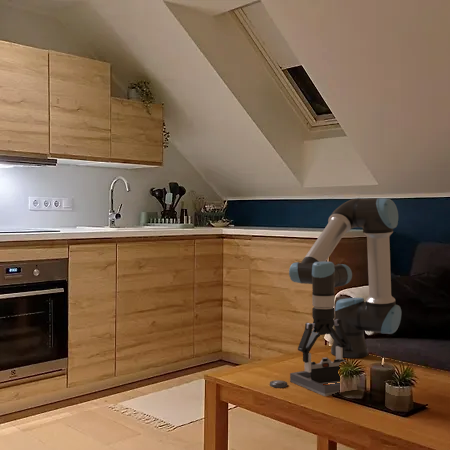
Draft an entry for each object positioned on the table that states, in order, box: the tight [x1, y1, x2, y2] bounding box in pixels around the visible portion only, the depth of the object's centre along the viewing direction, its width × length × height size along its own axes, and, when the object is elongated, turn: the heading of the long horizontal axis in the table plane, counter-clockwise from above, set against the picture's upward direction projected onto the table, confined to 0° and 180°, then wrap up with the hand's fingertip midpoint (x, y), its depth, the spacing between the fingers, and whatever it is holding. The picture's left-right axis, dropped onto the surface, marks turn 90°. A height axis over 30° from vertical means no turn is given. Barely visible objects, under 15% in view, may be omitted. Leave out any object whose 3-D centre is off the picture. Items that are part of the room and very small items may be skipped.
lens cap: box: [269, 379, 288, 389], centre depth 209 cm, size 6×6×2 cm
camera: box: [310, 357, 347, 384], centre depth 208 cm, size 13×8×9 cm, turn 82°
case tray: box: [289, 370, 340, 397], centre depth 209 cm, size 14×19×3 cm
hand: (323, 368), depth 209 cm, fingers open, 13 cm apart
